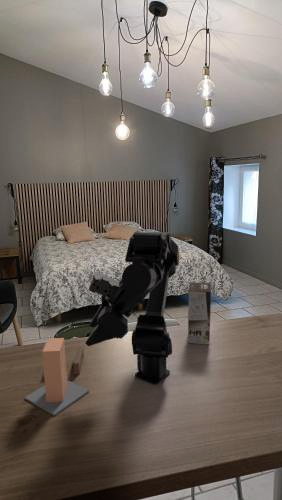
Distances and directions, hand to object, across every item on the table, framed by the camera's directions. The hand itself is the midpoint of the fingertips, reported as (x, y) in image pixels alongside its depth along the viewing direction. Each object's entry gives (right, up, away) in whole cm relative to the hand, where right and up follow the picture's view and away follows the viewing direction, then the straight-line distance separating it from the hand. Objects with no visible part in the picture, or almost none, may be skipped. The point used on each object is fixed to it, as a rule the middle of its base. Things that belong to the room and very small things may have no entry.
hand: (89, 334), depth 77 cm
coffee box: (+29, -8, +28) cm, 41 cm away
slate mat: (-7, -14, +1) cm, 16 cm away
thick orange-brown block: (-7, -13, +1) cm, 15 cm away
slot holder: (-8, -11, +13) cm, 19 cm away
